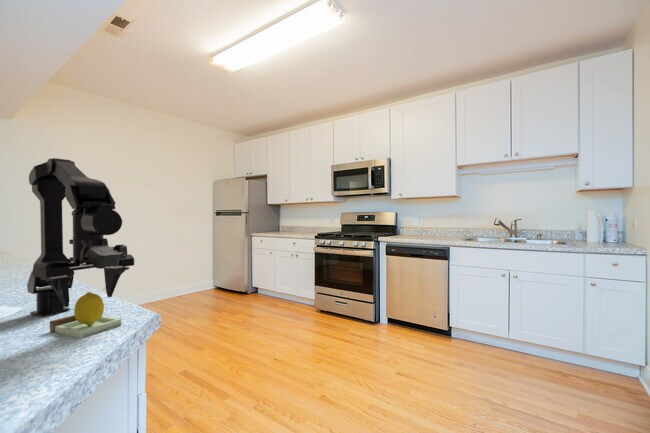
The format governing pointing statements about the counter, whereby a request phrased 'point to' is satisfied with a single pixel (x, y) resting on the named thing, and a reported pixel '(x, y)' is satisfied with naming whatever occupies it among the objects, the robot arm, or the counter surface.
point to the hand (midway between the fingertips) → (89, 301)
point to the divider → (61, 322)
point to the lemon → (89, 309)
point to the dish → (87, 327)
